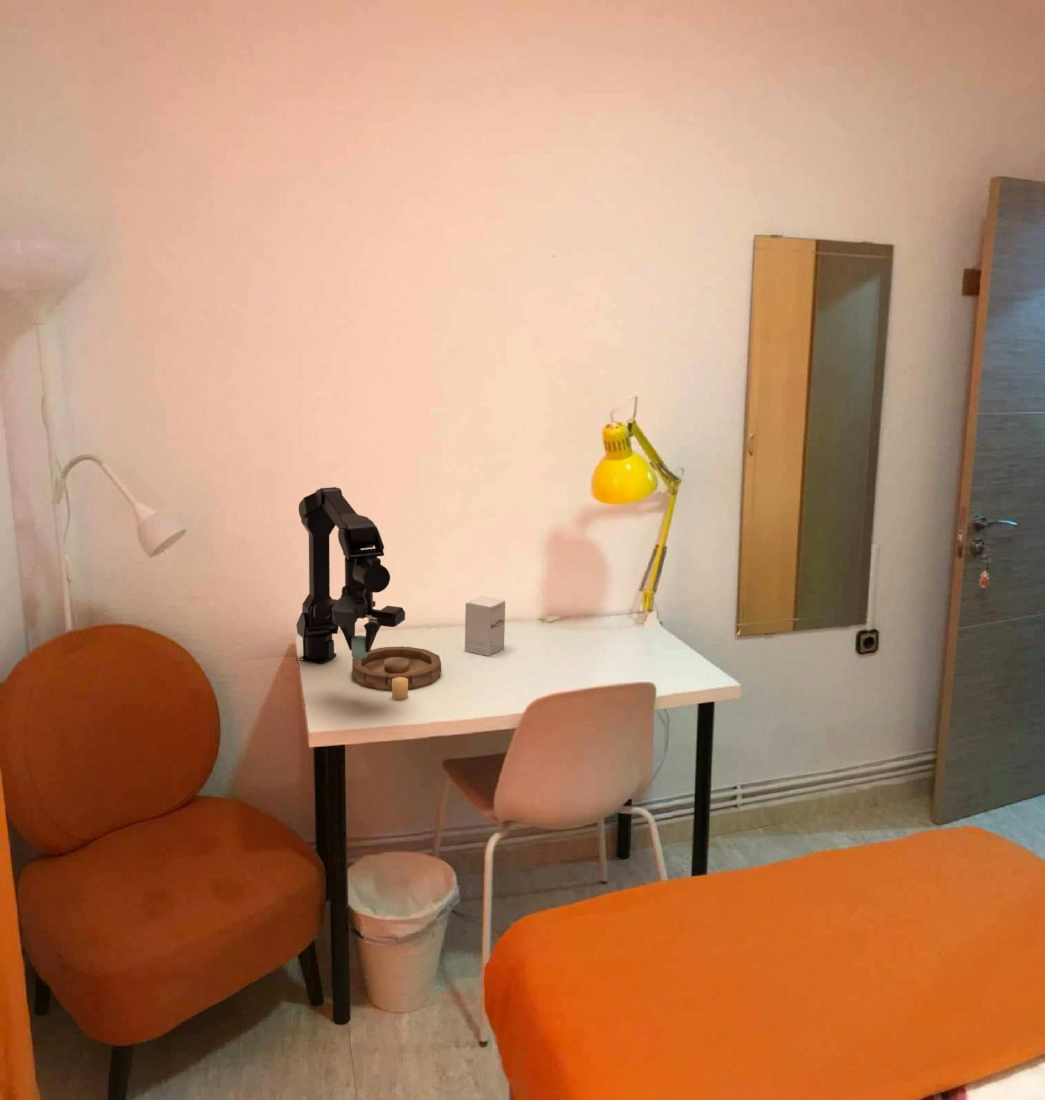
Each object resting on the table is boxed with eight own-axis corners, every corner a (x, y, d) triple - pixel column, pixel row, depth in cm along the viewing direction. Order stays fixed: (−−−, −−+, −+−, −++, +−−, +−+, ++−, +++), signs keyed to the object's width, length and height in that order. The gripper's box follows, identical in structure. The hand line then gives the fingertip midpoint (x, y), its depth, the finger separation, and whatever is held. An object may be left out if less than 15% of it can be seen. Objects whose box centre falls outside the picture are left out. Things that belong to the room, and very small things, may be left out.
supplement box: (489, 656, 242) (489, 607, 239) (463, 651, 245) (464, 601, 242) (505, 648, 248) (506, 600, 245) (480, 643, 251) (481, 595, 248)
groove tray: (336, 682, 223) (335, 668, 222) (378, 654, 241) (378, 642, 240) (416, 695, 216) (416, 682, 215) (454, 666, 234) (454, 653, 234)
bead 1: (348, 657, 210) (348, 639, 209) (356, 652, 214) (355, 634, 213) (363, 659, 209) (363, 641, 208) (370, 654, 213) (370, 636, 212)
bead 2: (389, 698, 214) (389, 681, 213) (396, 693, 217) (396, 676, 216) (403, 701, 213) (403, 683, 212) (410, 695, 216) (410, 678, 215)
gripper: (299, 585, 203) (301, 657, 206) (383, 595, 197) (384, 669, 201) (325, 572, 213) (327, 641, 217) (406, 581, 208) (406, 651, 212)
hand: (359, 650), depth 211 cm, fingers closed on bead 1, 3 cm apart
